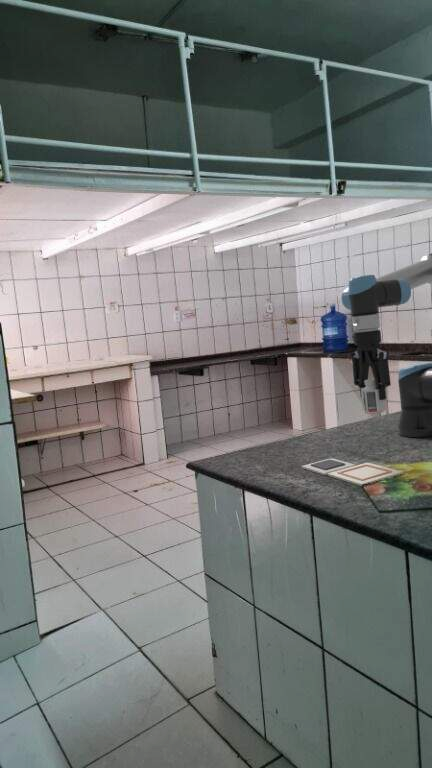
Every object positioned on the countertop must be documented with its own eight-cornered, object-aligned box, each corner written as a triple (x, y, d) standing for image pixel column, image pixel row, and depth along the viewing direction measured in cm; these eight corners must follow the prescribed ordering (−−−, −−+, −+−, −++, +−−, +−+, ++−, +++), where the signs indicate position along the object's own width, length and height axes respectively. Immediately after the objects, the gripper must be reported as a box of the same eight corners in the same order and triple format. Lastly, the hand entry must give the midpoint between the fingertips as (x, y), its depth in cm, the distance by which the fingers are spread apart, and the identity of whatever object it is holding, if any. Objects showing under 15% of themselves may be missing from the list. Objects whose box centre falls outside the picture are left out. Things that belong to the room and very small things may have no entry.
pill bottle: (388, 411, 163) (384, 378, 162) (375, 415, 160) (372, 381, 159) (373, 410, 167) (370, 377, 166) (361, 413, 165) (357, 380, 164)
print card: (367, 464, 161) (367, 461, 161) (403, 473, 148) (403, 470, 148) (327, 475, 155) (327, 472, 155) (361, 486, 143) (361, 483, 142)
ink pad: (331, 460, 170) (331, 456, 170) (355, 466, 160) (355, 463, 160) (301, 468, 166) (301, 464, 166) (324, 475, 156) (323, 471, 156)
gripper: (336, 333, 168) (343, 409, 170) (378, 330, 151) (386, 415, 154) (355, 329, 171) (363, 405, 174) (399, 327, 154) (407, 410, 157)
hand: (374, 409), depth 164 cm, fingers closed on pill bottle, 5 cm apart
